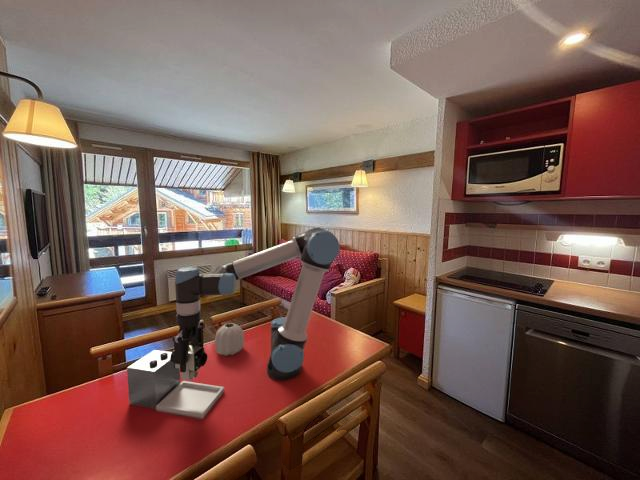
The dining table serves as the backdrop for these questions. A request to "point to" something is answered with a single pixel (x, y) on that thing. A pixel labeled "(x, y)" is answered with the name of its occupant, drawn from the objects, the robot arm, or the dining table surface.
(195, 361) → the pneumatic valve
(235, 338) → the vase
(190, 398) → the parts tray
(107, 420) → the dining table surface
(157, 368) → the control box
